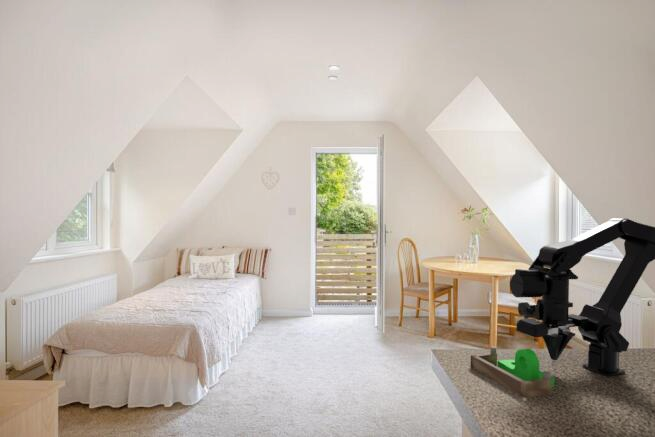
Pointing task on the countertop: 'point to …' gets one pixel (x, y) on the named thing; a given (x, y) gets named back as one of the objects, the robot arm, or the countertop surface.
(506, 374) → the dock bracket
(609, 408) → the countertop surface
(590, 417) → the countertop surface
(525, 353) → the mechanical part
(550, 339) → the robot arm
